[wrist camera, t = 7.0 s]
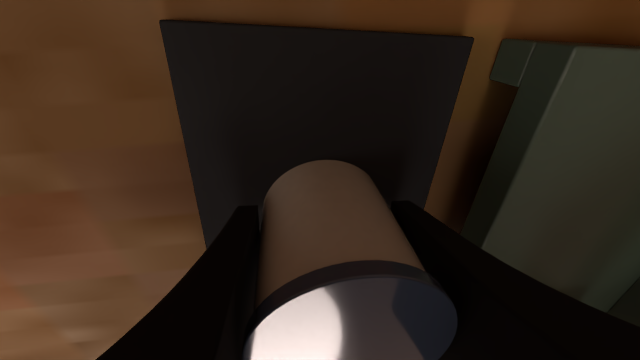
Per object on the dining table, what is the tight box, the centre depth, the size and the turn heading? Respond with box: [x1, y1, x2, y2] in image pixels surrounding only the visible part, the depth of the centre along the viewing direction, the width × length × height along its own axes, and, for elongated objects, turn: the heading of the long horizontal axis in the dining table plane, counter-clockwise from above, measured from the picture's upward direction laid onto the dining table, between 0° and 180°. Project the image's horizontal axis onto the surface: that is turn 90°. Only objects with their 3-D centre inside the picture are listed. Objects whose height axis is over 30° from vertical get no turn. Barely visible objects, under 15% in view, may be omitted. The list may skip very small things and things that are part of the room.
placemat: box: [159, 20, 474, 248], centre depth 11 cm, size 14×8×1 cm, turn 177°
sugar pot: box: [242, 160, 458, 360], centre depth 8 cm, size 5×5×5 cm
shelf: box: [460, 39, 640, 327], centre depth 11 cm, size 14×9×4 cm, turn 177°
